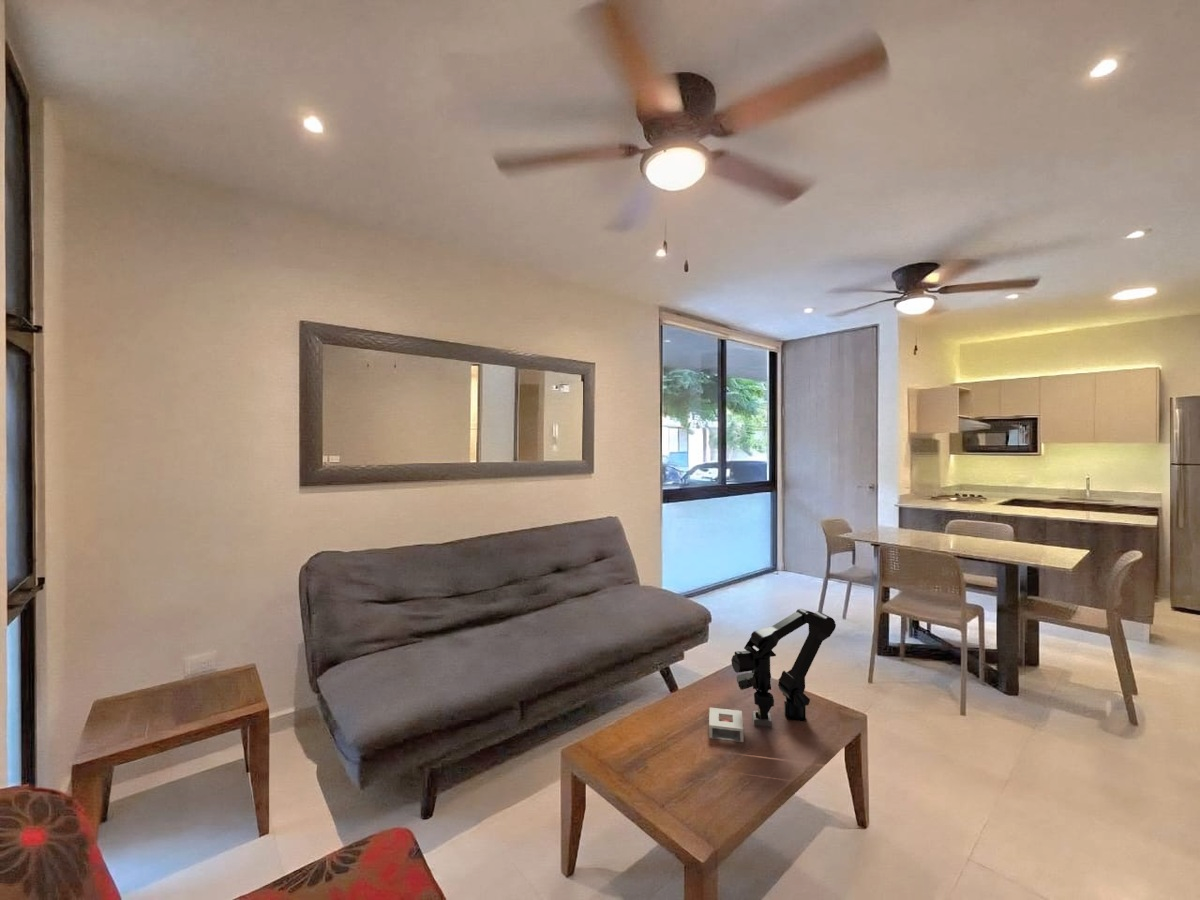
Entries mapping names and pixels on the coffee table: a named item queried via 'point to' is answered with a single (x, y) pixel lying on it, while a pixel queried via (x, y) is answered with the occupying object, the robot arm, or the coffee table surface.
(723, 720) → the breaker button
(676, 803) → the coffee table surface
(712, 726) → the breaker box
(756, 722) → the holder
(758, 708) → the beige rounded rod
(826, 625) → the robot arm
